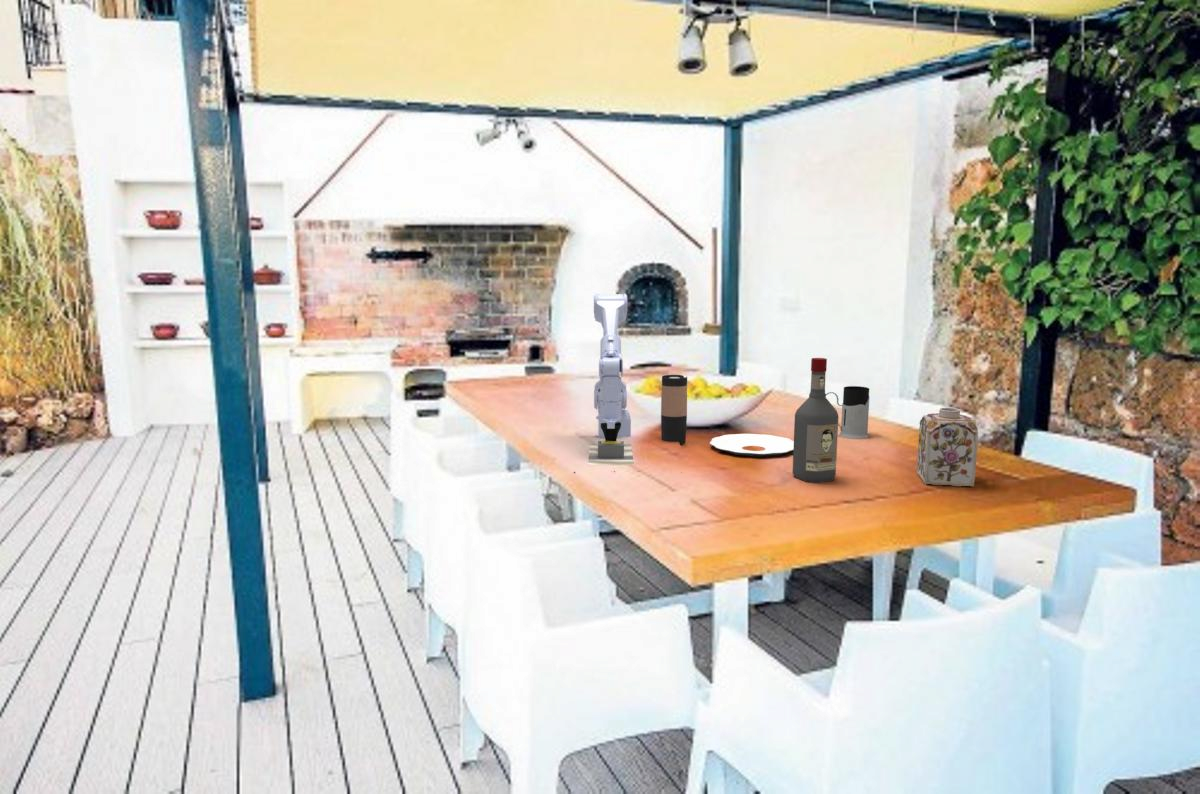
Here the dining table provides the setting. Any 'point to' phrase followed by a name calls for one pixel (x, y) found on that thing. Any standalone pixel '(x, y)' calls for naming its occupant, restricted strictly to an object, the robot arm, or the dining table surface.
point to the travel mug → (674, 408)
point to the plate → (753, 444)
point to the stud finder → (610, 449)
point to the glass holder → (854, 412)
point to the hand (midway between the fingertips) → (610, 449)
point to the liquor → (816, 431)
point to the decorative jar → (947, 448)
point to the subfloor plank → (594, 452)
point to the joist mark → (610, 458)
